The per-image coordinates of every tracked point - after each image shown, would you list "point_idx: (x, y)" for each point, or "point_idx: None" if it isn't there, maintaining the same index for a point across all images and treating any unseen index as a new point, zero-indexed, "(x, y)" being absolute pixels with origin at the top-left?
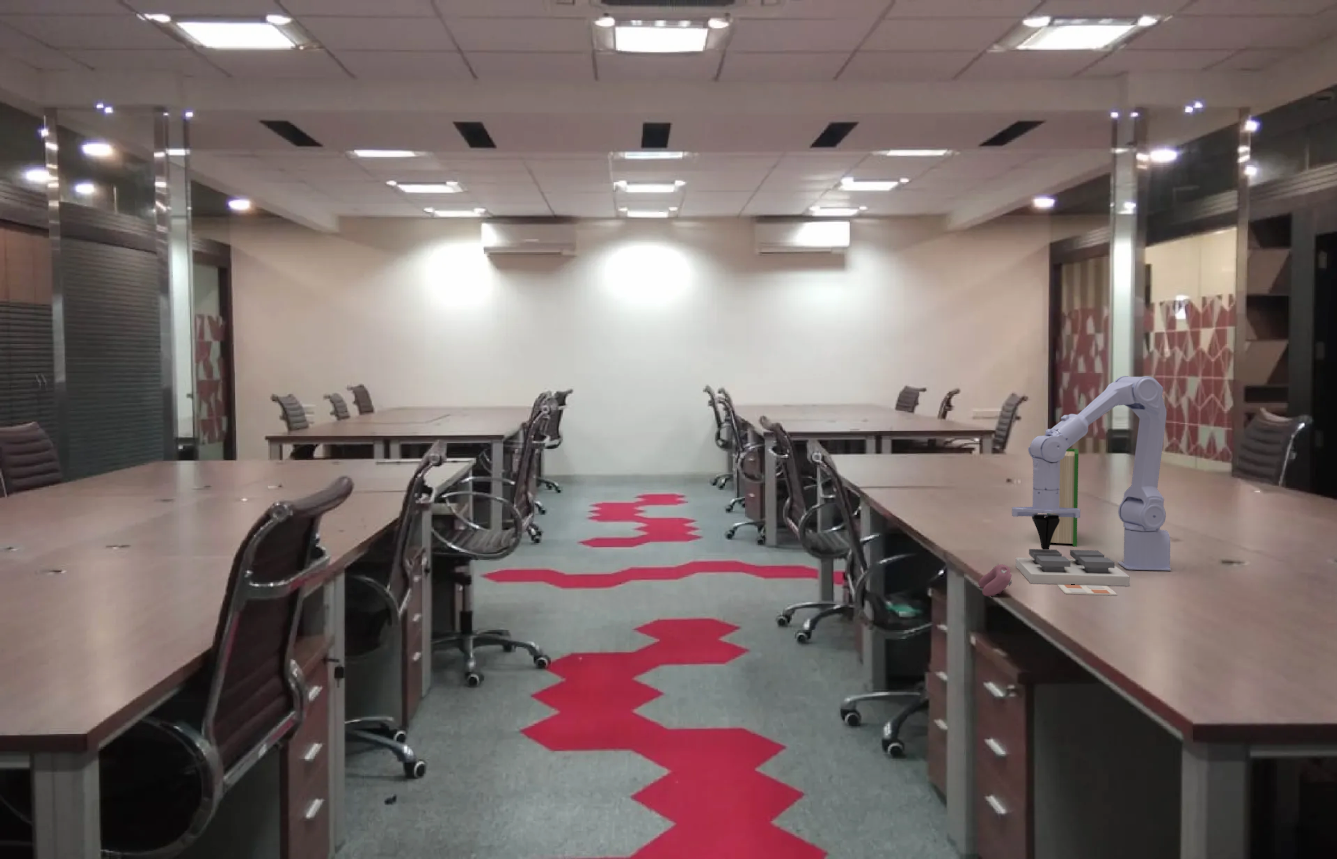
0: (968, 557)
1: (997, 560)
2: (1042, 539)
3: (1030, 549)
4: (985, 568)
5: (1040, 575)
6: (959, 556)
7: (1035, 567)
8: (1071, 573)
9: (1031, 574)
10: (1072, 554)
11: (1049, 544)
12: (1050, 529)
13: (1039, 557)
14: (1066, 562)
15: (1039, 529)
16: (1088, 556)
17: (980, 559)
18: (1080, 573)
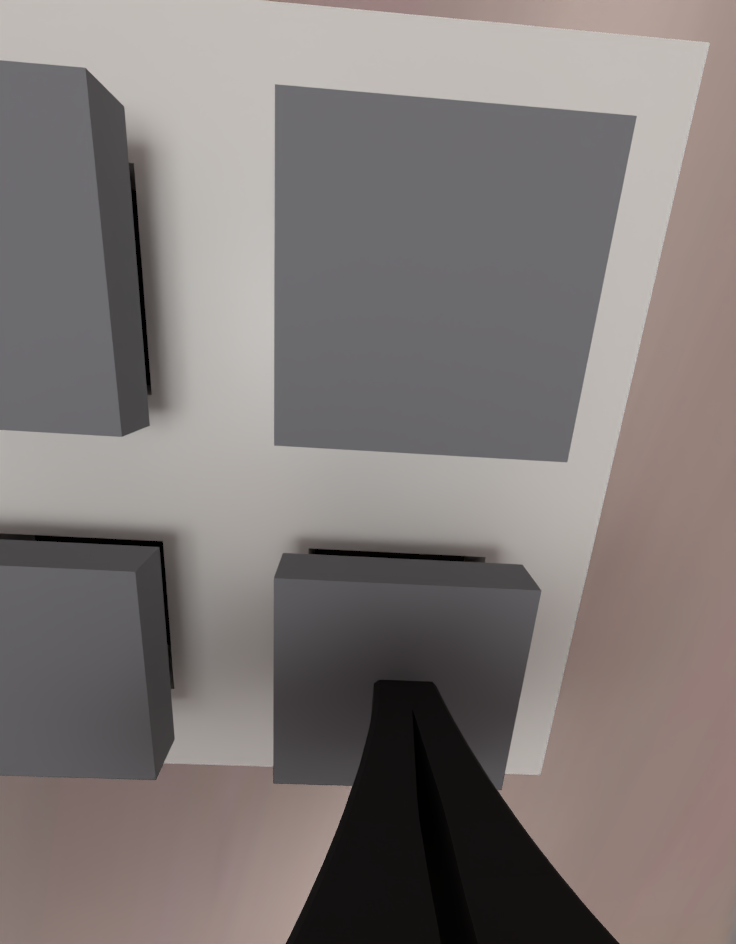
0: (686, 908)
1: (562, 856)
2: (473, 760)
3: (498, 769)
4: (732, 650)
5: (614, 38)
6: (721, 925)
7: None
8: None
9: (705, 42)
10: (159, 679)
11: (377, 711)
12: (389, 920)
13: (569, 364)
14: (327, 93)
15: (593, 920)
16: (22, 557)
17: (644, 871)
18: (201, 123)
